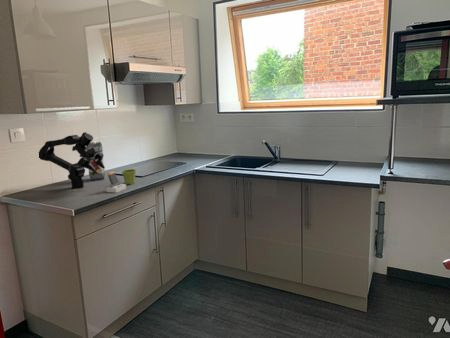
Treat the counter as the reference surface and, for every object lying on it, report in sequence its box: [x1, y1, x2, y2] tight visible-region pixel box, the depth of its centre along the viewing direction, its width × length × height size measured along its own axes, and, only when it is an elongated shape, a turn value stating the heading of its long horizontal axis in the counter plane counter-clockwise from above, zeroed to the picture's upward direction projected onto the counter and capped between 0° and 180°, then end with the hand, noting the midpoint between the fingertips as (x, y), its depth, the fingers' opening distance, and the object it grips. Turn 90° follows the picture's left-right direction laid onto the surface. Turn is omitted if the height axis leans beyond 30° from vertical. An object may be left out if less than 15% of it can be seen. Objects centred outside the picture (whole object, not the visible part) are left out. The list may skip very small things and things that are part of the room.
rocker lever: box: [106, 170, 119, 186], centre depth 211 cm, size 2×5×8 cm, turn 161°
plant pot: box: [121, 169, 137, 185], centre depth 227 cm, size 9×9×9 cm
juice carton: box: [86, 140, 106, 181], centre depth 241 cm, size 9×10×27 cm
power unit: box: [106, 181, 127, 193], centre depth 212 cm, size 7×10×4 cm
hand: (99, 169), depth 213 cm, fingers open, 8 cm apart
